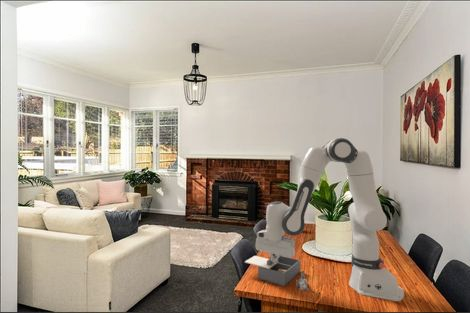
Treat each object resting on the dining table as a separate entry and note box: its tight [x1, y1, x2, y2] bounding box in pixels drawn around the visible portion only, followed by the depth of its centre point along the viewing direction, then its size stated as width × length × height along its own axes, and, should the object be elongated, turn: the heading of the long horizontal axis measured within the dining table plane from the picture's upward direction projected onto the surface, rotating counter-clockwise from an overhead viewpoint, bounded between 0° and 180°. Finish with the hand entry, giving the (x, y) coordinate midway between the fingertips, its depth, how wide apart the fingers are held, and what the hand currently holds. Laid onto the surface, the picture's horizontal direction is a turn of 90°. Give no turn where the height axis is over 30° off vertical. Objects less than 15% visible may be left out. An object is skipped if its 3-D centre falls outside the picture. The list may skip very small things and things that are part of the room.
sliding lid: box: [244, 255, 277, 269], centre depth 141 cm, size 14×10×2 cm
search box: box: [257, 255, 301, 287], centre depth 140 cm, size 14×20×6 cm
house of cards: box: [295, 270, 309, 291], centre depth 129 cm, size 9×9×8 cm
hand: (274, 262), depth 136 cm, fingers closed
